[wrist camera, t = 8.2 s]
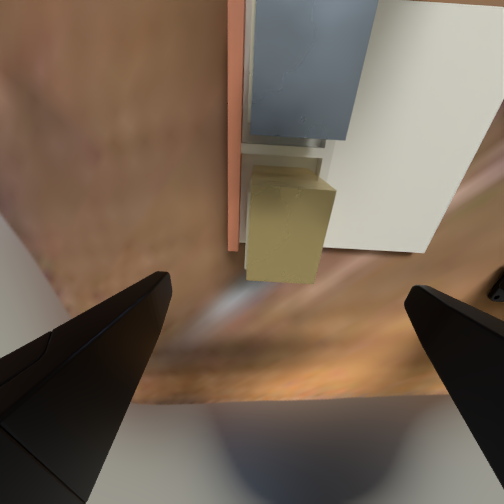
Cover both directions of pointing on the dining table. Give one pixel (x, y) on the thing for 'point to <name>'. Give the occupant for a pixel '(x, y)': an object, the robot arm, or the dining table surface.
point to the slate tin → (306, 65)
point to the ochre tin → (286, 223)
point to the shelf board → (384, 123)
